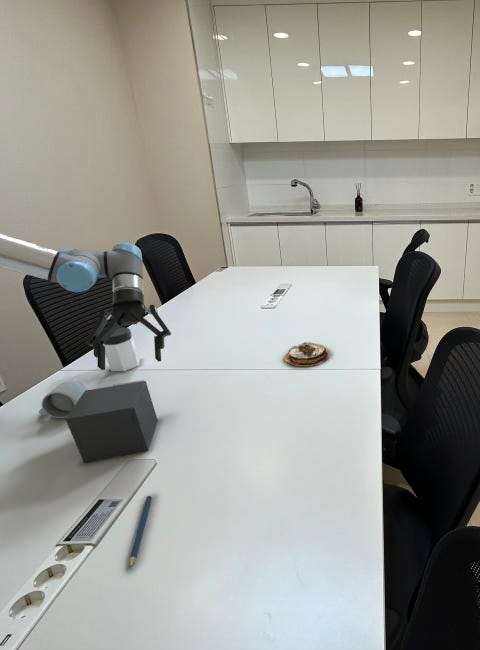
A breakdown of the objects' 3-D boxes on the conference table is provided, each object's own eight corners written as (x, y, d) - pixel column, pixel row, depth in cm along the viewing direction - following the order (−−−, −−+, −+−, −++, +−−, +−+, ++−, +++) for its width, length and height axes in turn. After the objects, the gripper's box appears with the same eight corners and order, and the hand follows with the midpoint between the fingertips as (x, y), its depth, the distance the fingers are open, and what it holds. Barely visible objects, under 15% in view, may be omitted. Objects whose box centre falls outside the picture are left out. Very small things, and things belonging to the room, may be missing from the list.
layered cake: (339, 354, 130) (338, 343, 128) (304, 371, 120) (303, 359, 118) (310, 342, 139) (309, 332, 137) (275, 357, 129) (274, 346, 127)
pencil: (152, 498, 75) (134, 568, 62) (146, 500, 75) (127, 570, 62) (151, 495, 75) (132, 565, 62) (145, 496, 75) (125, 567, 62)
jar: (146, 360, 130) (136, 327, 125) (130, 372, 122) (119, 337, 118) (121, 359, 131) (111, 326, 126) (104, 371, 123) (92, 337, 118)
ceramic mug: (93, 399, 108) (83, 375, 105) (80, 416, 101) (69, 391, 98) (51, 405, 106) (40, 381, 103) (34, 423, 99) (21, 397, 96)
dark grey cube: (101, 431, 95) (85, 390, 90) (158, 420, 98) (145, 380, 94) (83, 463, 85) (65, 419, 80) (148, 450, 88) (133, 407, 83)
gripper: (179, 295, 117) (184, 360, 110) (84, 305, 110) (83, 376, 103) (172, 282, 110) (177, 351, 103) (71, 292, 103) (68, 367, 96)
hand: (130, 364), depth 103 cm, fingers open, 13 cm apart
